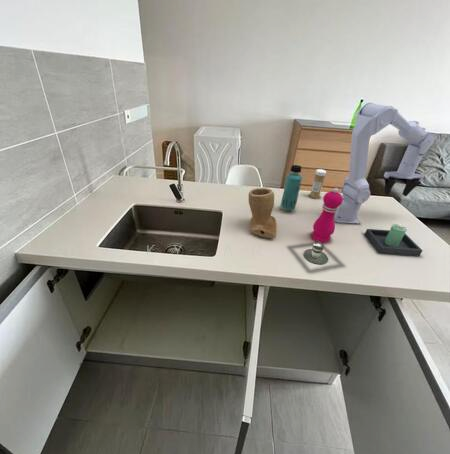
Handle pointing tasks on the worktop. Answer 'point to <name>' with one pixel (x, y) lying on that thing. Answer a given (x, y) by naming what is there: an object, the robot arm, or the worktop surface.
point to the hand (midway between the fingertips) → (395, 194)
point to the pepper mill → (327, 216)
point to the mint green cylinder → (395, 235)
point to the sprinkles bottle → (317, 183)
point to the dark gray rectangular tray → (378, 242)
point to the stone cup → (262, 212)
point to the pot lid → (316, 254)
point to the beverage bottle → (291, 188)
